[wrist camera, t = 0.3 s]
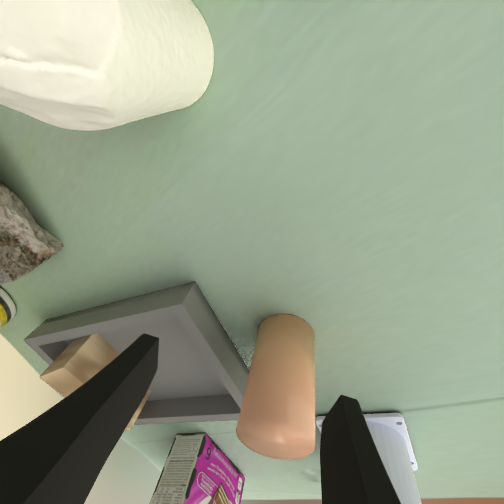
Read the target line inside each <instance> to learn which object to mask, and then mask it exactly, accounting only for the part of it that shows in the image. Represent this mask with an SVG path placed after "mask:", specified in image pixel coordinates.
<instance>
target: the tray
mask: <svg viewBox="0 0 504 504" xmlns="http://www.w3.org/2000/svg"><path fill="white" fill-rule="evenodd" d="M97 333H98V334H99V335H100V336H101V337H102V338H103V339H104V340H105V341H106V342H107V343H109V344H110V345H111V346H112V347H113V348H114V349H115V350H116V351H117V352H118V353H119V354H121V353H122V352H123V351H124V350H125V349H126V348H127V347H129V346H130V345H131V344H132V343H133V342H134V341H135V340H136V339H137V338H138V337H139V336H140V335H142V334H144V333H145V334H148V335H151V336H155V337H158V338H159V350H158V368H157V372H156V374H155V376H154V378H153V380H152V382H151V384H150V387H149V390H150V391H151V393H150V395H149V396H148V398H147V400H146V402H145V404H144V406H143V408H142V410H141V412H140V414H139V415H138V417H137V419H136V421H135V423H134V425H140V424H161V423H183V422H205V421H227V420H238V419H239V415H240V410H241V406H242V401H243V397H244V392H245V388H246V383H247V379H248V374H249V370H248V368H247V367H246V365H245V363H244V362H243V360H242V358H241V357H240V355H239V353H238V352H237V350H236V348H235V347H234V345H233V344H232V342H231V340H230V339H229V337H228V335H227V334H226V332H225V330H224V329H223V327H222V325H221V324H220V322H219V320H218V319H217V317H216V315H215V314H214V312H213V310H212V309H211V307H210V306H209V304H208V302H207V301H206V299H205V297H204V296H203V294H202V292H201V291H200V289H199V287H198V286H197V284H196V282H192V283H188V284H184V285H180V286H176V287H172V288H168V289H165V290H161V291H157V292H153V293H149V294H145V295H141V296H137V297H133V298H129V299H126V300H122V301H118V302H114V303H110V304H106V305H102V306H98V307H94V308H91V309H87V310H83V311H79V312H75V313H71V314H67V315H63V316H59V317H55V318H52V319H48V320H45V321H44V322H43V323H42V324H41V325H40V326H39V327H37V328H36V329H35V330H34V331H33V332H32V333H31V334H30V335H28V336H27V337H26V338H25V339H24V341H25V342H26V343H27V344H28V345H29V346H30V347H31V348H32V349H33V350H34V351H36V352H37V353H38V354H39V355H40V356H41V357H42V358H43V359H44V360H45V361H46V362H47V363H48V364H49V365H51V364H52V363H53V362H54V361H55V359H56V358H57V357H58V356H59V355H60V354H61V353H62V352H63V351H64V350H65V349H66V348H67V347H68V346H69V344H70V343H71V342H73V341H75V340H77V339H79V338H82V337H84V336H87V335H92V334H97Z"/></svg>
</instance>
